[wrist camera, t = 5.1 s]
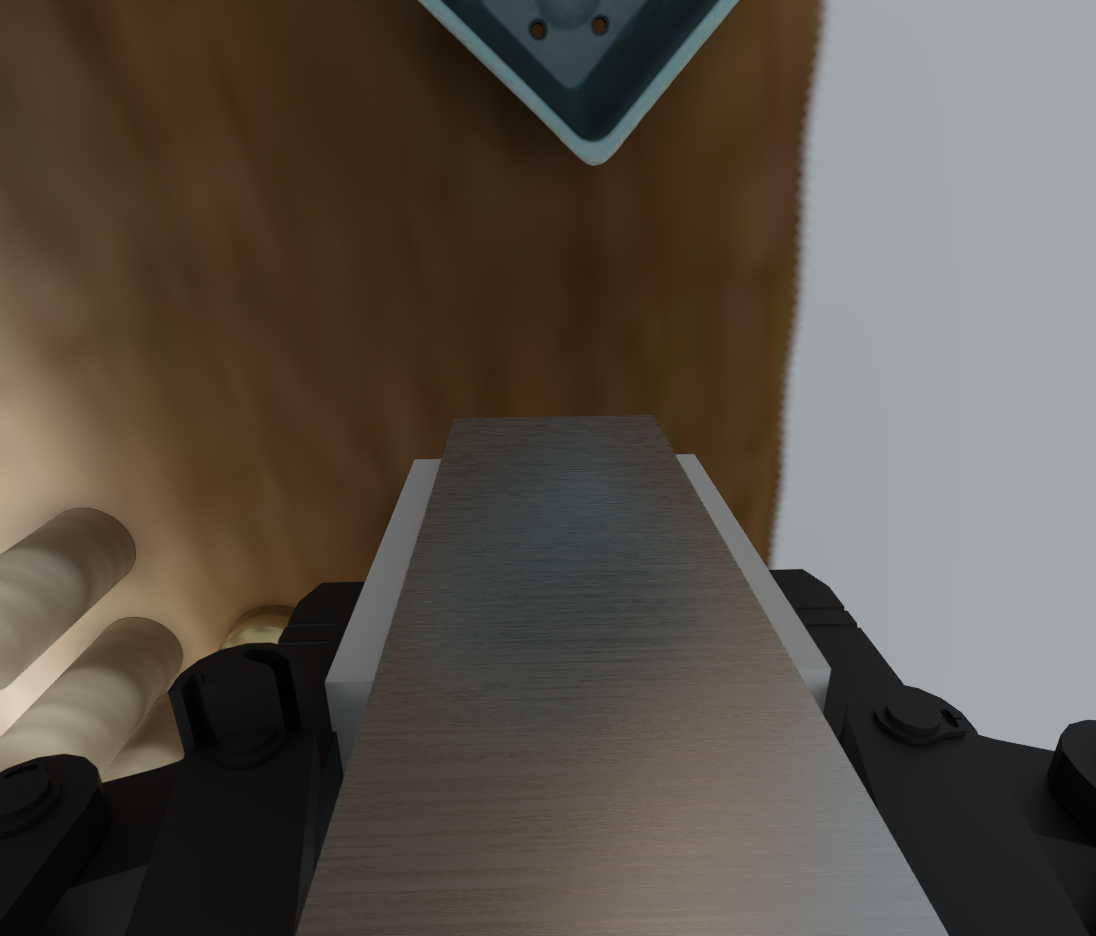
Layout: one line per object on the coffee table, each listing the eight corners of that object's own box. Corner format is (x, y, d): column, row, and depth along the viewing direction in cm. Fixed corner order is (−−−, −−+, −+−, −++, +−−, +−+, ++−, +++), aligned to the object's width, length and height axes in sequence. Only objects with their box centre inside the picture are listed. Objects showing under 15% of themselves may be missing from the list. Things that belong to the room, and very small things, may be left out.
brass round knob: (225, 603, 34) (202, 634, 32) (327, 604, 34) (311, 635, 32) (239, 684, 36) (218, 720, 33) (335, 685, 36) (321, 721, 34)
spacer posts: (36, 509, 32) (-114, 604, 24) (469, 500, 32) (452, 592, 25) (112, 752, 37) (9, 891, 30) (483, 742, 38) (472, 877, 30)
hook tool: (453, 418, 14) (151, 1403, 3) (653, 415, 14) (1181, 1345, 3) (482, 869, 19) (418, 1888, 7) (629, 864, 19) (784, 1859, 8)
